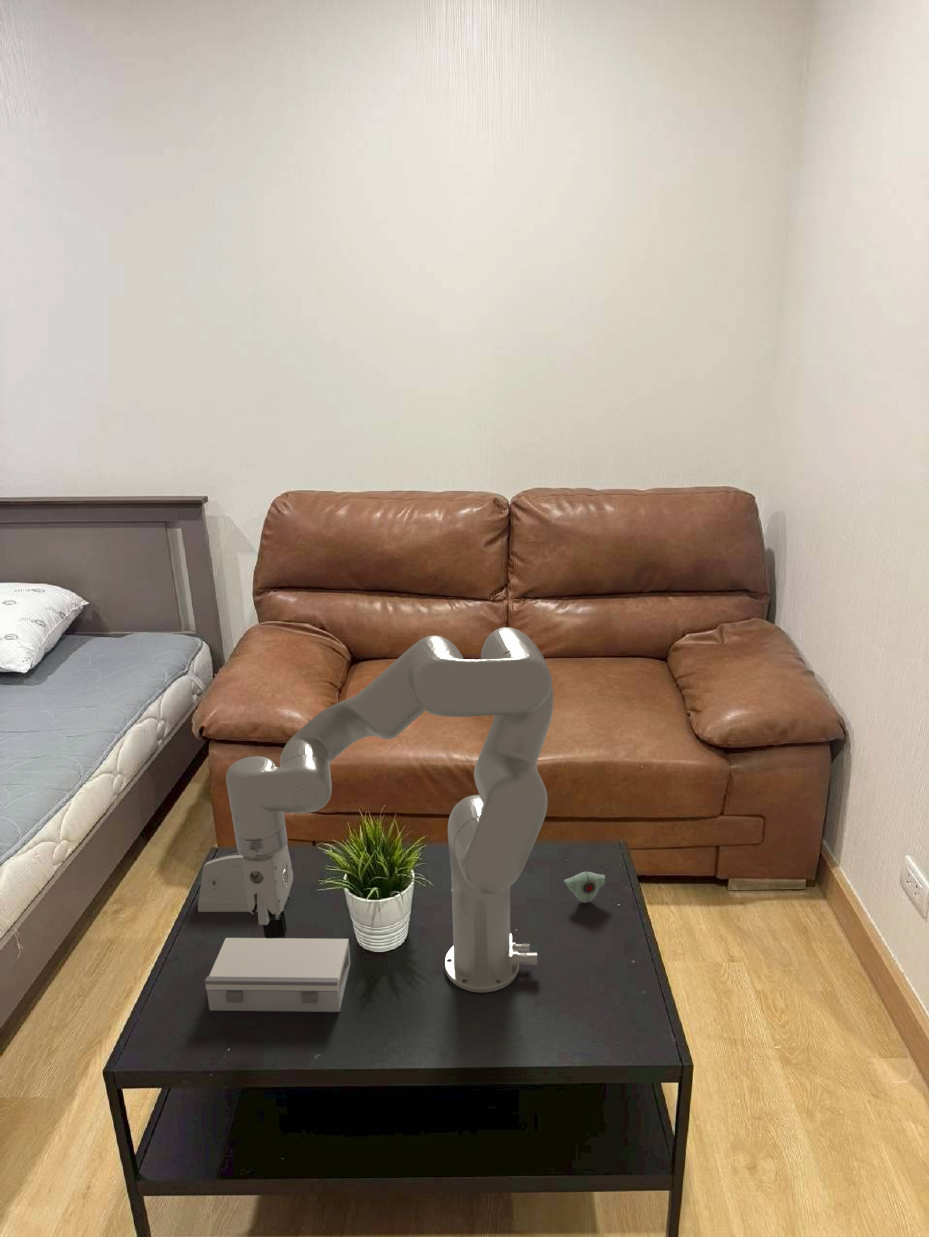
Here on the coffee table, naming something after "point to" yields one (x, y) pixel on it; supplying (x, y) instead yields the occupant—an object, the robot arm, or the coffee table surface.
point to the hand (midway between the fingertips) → (276, 934)
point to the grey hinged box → (280, 998)
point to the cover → (278, 964)
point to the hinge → (223, 885)
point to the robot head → (585, 885)
